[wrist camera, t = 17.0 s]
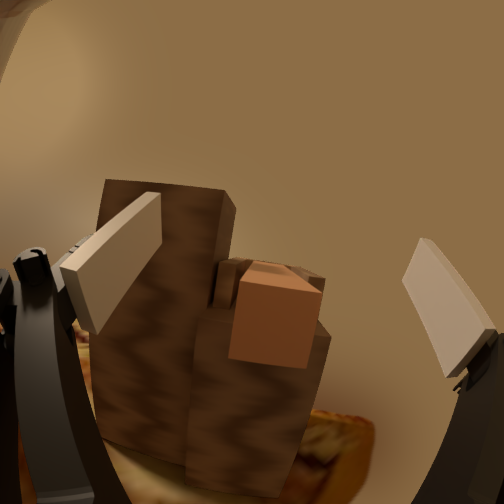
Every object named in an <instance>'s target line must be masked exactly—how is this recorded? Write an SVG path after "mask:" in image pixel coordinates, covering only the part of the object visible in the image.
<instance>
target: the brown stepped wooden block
mask: <svg viewBox="0 0 504 504" xmlns="http://www.w3.org/2000/svg"><path fill="white" fill-rule="evenodd" d="M146 192H155V193H161V227H162V244H161V245H160V247H159V248H158V249H157V250H156V252H155V253H154V254H153V256H152V257H151V258H150V260H149V261H148V262H147V264H146V265H145V267H144V268H143V269H142V271H141V272H140V273H139V275H138V276H137V278H136V279H135V280H134V282H133V283H132V285H131V286H130V287H129V289H128V290H127V292H126V293H125V295H124V296H123V297H122V299H121V300H120V302H119V303H118V305H117V306H116V308H115V309H114V311H113V312H112V314H111V315H110V317H109V318H108V320H107V321H106V323H105V324H104V326H103V328H102V329H101V331H100V332H99V334H98V335H96V334H93V333H90V332H89V352H90V370H91V382H92V392H93V401H94V409H95V416H96V422H97V426H98V429H99V432H100V435H101V437H102V438H104V439H107V440H109V441H111V442H114V443H116V444H118V445H121V446H123V447H126V448H128V449H131V450H134V451H137V452H139V453H142V454H145V455H148V456H151V457H154V458H157V459H160V460H164V461H167V462H171V463H174V464H178V465H182V466H186V469H185V484H186V485H190V486H194V487H199V488H203V489H208V490H213V491H219V492H225V493H232V494H239V495H247V496H257V497H270V498H279V495H280V493H281V491H282V489H283V486H284V484H285V481H286V479H287V477H288V474H289V472H290V469H291V467H292V464H293V462H294V459H295V456H296V454H297V451H298V448H299V446H300V443H301V440H302V437H303V434H304V431H305V429H306V426H307V423H308V420H309V416H310V413H311V410H312V407H313V404H314V401H315V397H316V394H317V390H318V387H319V383H320V380H321V376H322V373H323V369H324V365H325V361H326V357H327V354H328V349H329V345H330V341H331V336H330V334H329V333H328V332H327V331H326V329H325V328H324V327H323V326H322V324H321V323H320V322H319V321H318V319H317V324H316V329H315V333H314V338H313V342H312V347H311V351H310V355H309V360H308V364H307V368H306V369H303V368H293V367H284V366H276V365H268V364H261V363H254V362H248V361H242V360H236V359H230V358H228V354H229V348H230V341H231V335H232V328H233V321H234V315H235V308H236V302H237V295H238V289H239V282H240V280H241V278H242V277H243V275H244V274H245V273H246V271H247V270H248V268H249V267H250V266H251V264H252V263H253V261H259V260H253V259H247V258H240V257H236V258H232V259H228V257H229V251H230V245H231V238H232V232H233V225H234V220H235V214H236V207H235V205H234V204H233V202H232V201H231V199H230V198H229V196H228V194H227V193H226V191H225V190H218V189H210V188H202V187H193V186H183V185H174V184H164V183H152V182H140V181H125V180H111V179H106V180H105V184H104V189H103V194H102V199H101V204H100V209H99V216H98V221H97V228H96V232H97V231H98V230H99V229H100V228H102V227H103V226H104V225H105V224H106V223H108V222H109V221H110V220H111V219H112V218H114V217H115V216H116V215H117V214H119V213H120V212H121V211H122V210H124V209H125V208H126V207H127V206H129V205H130V204H131V203H132V202H134V201H135V200H136V199H138V198H139V197H140V196H142V195H143V194H144V193H146ZM260 262H265V261H260ZM266 263H271V262H266ZM272 264H278V263H272ZM279 265H284V264H279ZM284 266H285V267H287V268H288V269H289V270H291V271H292V272H294V273H295V274H296V275H298V276H299V277H301V278H302V279H303V280H305V281H306V282H308V283H309V284H310V285H312V286H313V287H315V288H316V289H317V290H319V291H320V292H322V293H323V290H324V285H325V278H323V277H321V276H318V275H317V274H314V273H312V272H310V271H308V270H306V269H303V268H301V267H297V266H291V265H284ZM322 296H323V294H322ZM321 301H322V299H321ZM320 306H321V304H320ZM319 311H320V309H319ZM318 316H319V314H318Z"/></svg>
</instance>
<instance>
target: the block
mask: <svg viewBox="0 0 504 504" xmlns="http://www.w3.org/2000/svg"><path fill="white" fill-rule="evenodd" d="M322 294H323V293H322V292H320V291H319V290H317V289H316V288H315V287H313V286H312V285H310V284H309V283H308V282H306V281H305V280H303V279H302V278H301V277H299V276H298V275H296V274H295V273H294V272H292V271H291V270H289V269H288V268H287V267H285V266H284V265H279V264H272V263H266V262H260V261H253V263H252V264H251V266H250V267H249V268H248V270H247V271H246V273H245V274H244V275H243V277H242V278H241V280H240V282H239V289H238V295H237V302H236V308H235V315H234V321H233V328H232V335H231V341H230V348H229V354H228V358H230V359H236V360H242V361H248V362H254V363H261V364H268V365H276V366H284V367H293V368H303V369H306V368H307V364H308V360H309V355H310V351H311V347H312V342H313V338H314V333H315V329H316V324H317V319H318V314H319V309H320V304H321V299H322Z"/></svg>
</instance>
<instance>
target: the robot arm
mask: <svg viewBox="0 0 504 504" xmlns="http://www.w3.org/2000/svg"><path fill="white" fill-rule="evenodd" d="M50 1H52V0H0V82H1V79H2V76H3V73H4V71H5V68H6V65H7V63H8V60H9V58H10V55H11V53H12V51H13V48H14V46H15V44H16V42H17V40H18V37H19V35H20V33H21V31H22V29H23V27H24V25H25V23H26V21H27V20H28V18H29V16H30V14H31V13H32V12H33V11H34V10H35V9H37V8H39V7H40V6H42V5H44V4H46V3H48V2H50ZM161 244H162V227H161V193H155V192H146V193H144V194H143V195H142V196H140V197H139V198H138V199H136V200H135V201H134V202H132V203H131V204H130V205H129V206H127V207H126V208H125V209H124V210H122V211H121V212H120V213H119V214H117V215H116V216H115V217H114V218H112V219H111V220H110V221H109V222H108V223H106V224H105V225H104V226H103V227H102V228H100V229H99V230H98V231H97V232H96V233H95V234H91V235H89V236H87V237H85V238H83V239H82V240H80V241H79V242H78V243H77V244H76V245H75V247H73V248H71V250H69V252H67V253H66V254H65V255H64V256H63V257H62V258H61V259H60V260H58V261H57V262H56V263H55V264H54V265H53V266H52V267H50V264H49V261H48V258H47V254H46V250H45V249H43V248H41V247H35V248H30V249H27V250H24V251H23V252H22V253H20V254H18V256H17V257H15V259H14V261H13V265H14V268H15V271H16V273H17V276H18V279H19V281H12V280H11V277H10V275H9V272H8V270H6V269H0V323H1V325H2V327H3V330H2V332H1V333H0V504H22V498H21V490H20V481H19V467H18V422H19V426H20V432H21V438H22V443H23V448H24V453H25V457H26V461H27V465H28V469H29V472H30V476H31V479H32V483H33V486H34V489H35V492H36V496H37V504H132V503H131V501H130V499H129V498H128V496H127V494H126V492H125V490H124V488H123V486H122V484H121V482H120V480H119V478H118V476H117V474H116V471H115V469H114V467H113V465H112V462H111V460H110V458H109V455H108V453H107V450H106V448H105V445H104V443H103V440H102V437H101V435H100V432H99V429H98V426H97V423H96V420H95V417H94V414H93V411H92V408H91V404H90V401H89V397H88V394H87V390H86V386H85V382H84V378H83V374H82V369H81V365H80V360H79V355H78V350H77V344H76V338H75V332H74V329H73V327H72V323H73V322H74V321H75V319H76V318H77V320H78V322H79V325H80V327H81V329H82V330H85V331H88V332H90V333H93V334H96V335H98V334H99V332H100V331H101V329H102V328H103V326H104V324H105V323H106V321H107V320H108V318H109V317H110V315H111V314H112V312H113V311H114V309H115V308H116V306H117V305H118V303H119V302H120V300H121V299H122V297H123V296H124V295H125V293H126V292H127V290H128V289H129V287H130V286H131V285H132V283H133V282H134V280H135V279H136V278H137V276H138V275H139V273H140V272H141V271H142V269H143V268H144V267H145V265H146V264H147V262H148V261H149V260H150V258H151V257H152V256H153V254H154V253H155V252H156V250H157V249H158V248H159V247H160V245H161ZM402 282H403V284H404V286H405V288H406V290H407V292H408V294H409V296H410V298H411V300H412V302H413V303H414V306H415V308H416V310H417V312H418V314H419V316H420V318H421V320H422V322H423V325H424V327H425V329H426V331H427V334H428V336H429V338H430V340H431V343H432V345H433V348H434V350H435V352H436V355H437V357H438V360H439V362H440V365H441V368H442V370H443V373H444V375H445V378H451V377H457V376H458V375H459V374H460V373H461V372H462V371H463V370H464V369H465V368H466V367H467V369H468V373H467V375H466V376H465V377H464V378H463V379H462V380H461V381H460V382H459V383H458V384H457V385H456V386H455V387H454V389H453V391H455V390H456V389H457V388H458V387H461V389H460V390H459V391H458V392H457V393H458V394H459V397H458V400H457V403H456V406H455V409H454V413H453V415H452V419H451V421H450V424H449V427H448V429H447V432H446V435H445V437H444V439H443V442H442V444H441V447H440V449H439V451H438V454H437V456H436V458H435V460H434V462H433V464H432V466H431V468H430V470H429V472H428V474H427V476H426V478H425V480H424V482H423V484H422V486H421V487H420V489H419V491H418V493H417V494H416V496H415V498H414V500H413V501H412V503H411V504H504V333H501V334H498V333H497V331H496V328H495V326H494V324H493V323H492V321H491V319H490V318H489V316H488V315H487V313H486V312H485V310H484V309H483V307H482V305H481V304H480V302H479V301H478V300H477V298H476V297H475V295H474V294H473V292H472V291H471V289H470V288H469V287H468V285H467V284H466V283H465V281H464V280H463V279H462V277H461V276H460V275H459V273H458V272H457V271H456V269H455V268H454V267H453V265H452V264H451V263H450V262H449V260H448V259H447V258H446V257H445V256H444V254H443V253H442V252H441V251H440V250H439V248H438V247H437V246H436V245H435V244H434V242H433V241H432V240H429V239H425V238H420V240H419V243H418V245H417V247H416V250H415V252H414V255H413V257H412V260H411V262H410V264H409V266H408V268H407V271H406V273H405V275H404V277H403V279H402Z"/></svg>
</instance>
